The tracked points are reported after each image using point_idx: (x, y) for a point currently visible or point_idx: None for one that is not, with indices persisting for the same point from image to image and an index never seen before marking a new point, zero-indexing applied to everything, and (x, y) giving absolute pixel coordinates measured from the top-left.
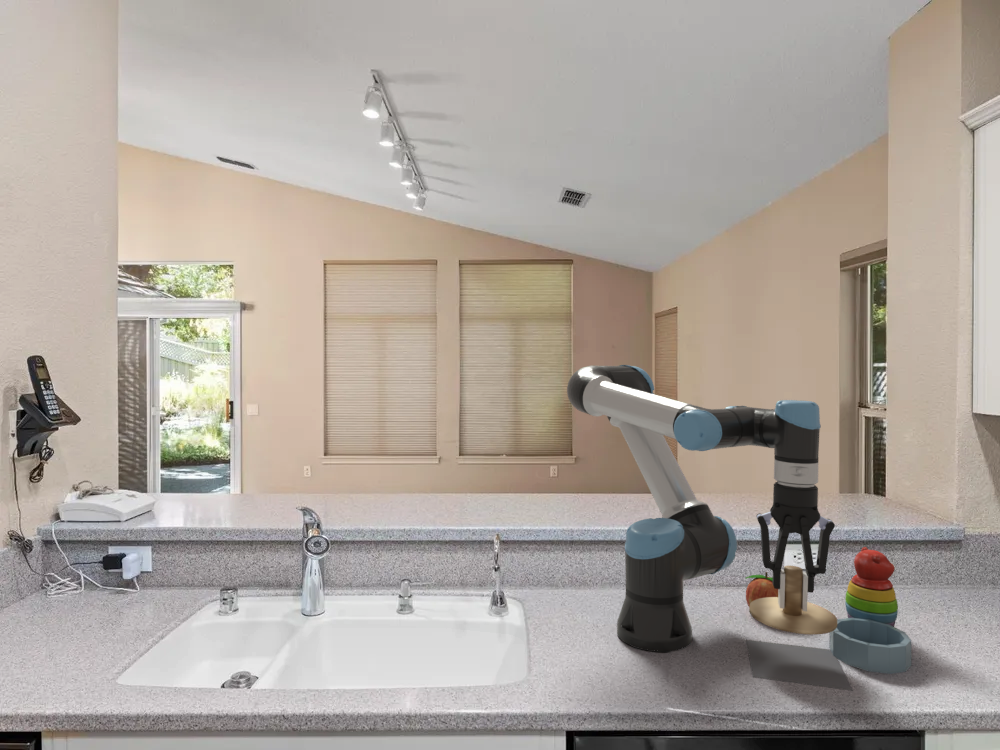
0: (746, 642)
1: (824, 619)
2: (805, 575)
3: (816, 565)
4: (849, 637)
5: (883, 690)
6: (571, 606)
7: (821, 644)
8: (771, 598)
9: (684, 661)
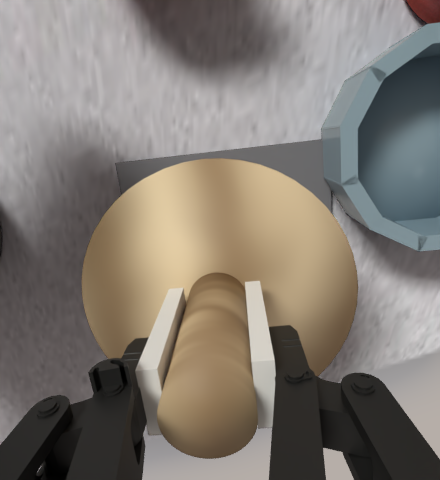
0: (119, 181)
1: (315, 315)
2: (268, 413)
3: (343, 423)
4: (379, 215)
5: (396, 304)
6: None
7: (304, 100)
8: (146, 193)
9: (15, 322)
